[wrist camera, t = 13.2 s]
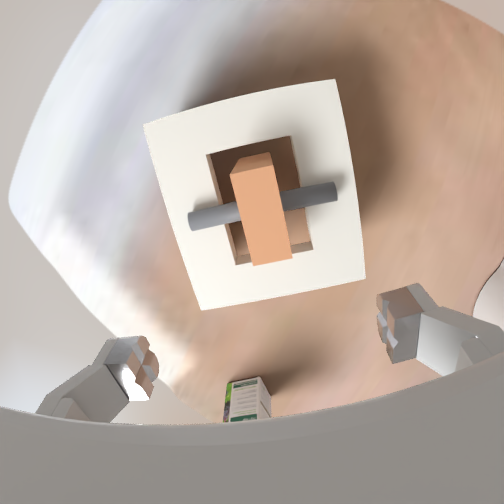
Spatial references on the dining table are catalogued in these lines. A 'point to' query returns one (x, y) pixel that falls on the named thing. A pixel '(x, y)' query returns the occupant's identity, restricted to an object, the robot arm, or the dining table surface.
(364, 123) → the dining table surface
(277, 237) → the notched wooden block
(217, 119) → the shelf
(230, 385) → the syrup box
